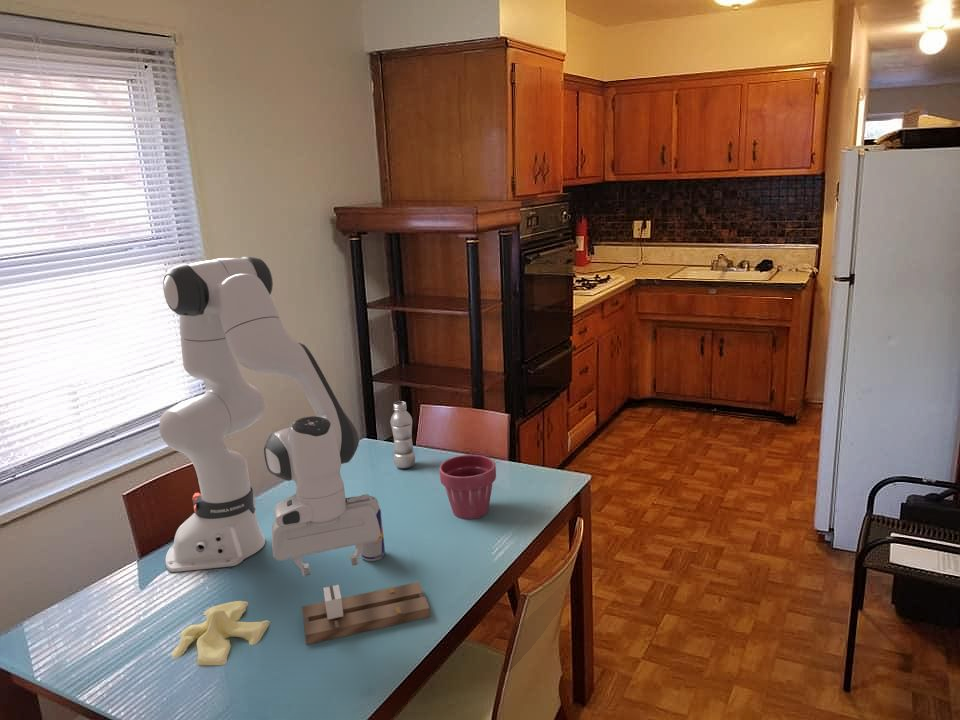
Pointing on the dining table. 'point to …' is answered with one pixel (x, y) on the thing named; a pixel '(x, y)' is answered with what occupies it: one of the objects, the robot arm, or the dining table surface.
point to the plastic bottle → (402, 436)
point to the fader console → (366, 612)
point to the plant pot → (468, 484)
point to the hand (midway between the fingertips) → (331, 568)
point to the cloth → (220, 633)
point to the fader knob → (333, 602)
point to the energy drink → (375, 544)
